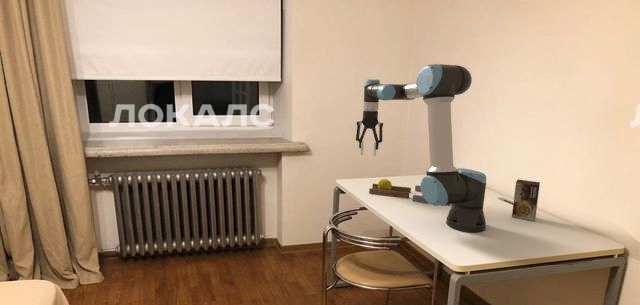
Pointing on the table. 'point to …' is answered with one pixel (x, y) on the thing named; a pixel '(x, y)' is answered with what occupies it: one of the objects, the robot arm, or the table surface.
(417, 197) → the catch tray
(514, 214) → the coffee box
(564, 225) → the table surface
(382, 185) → the tennis ball
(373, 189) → the chute
